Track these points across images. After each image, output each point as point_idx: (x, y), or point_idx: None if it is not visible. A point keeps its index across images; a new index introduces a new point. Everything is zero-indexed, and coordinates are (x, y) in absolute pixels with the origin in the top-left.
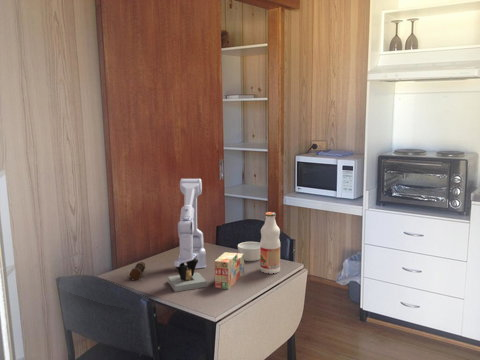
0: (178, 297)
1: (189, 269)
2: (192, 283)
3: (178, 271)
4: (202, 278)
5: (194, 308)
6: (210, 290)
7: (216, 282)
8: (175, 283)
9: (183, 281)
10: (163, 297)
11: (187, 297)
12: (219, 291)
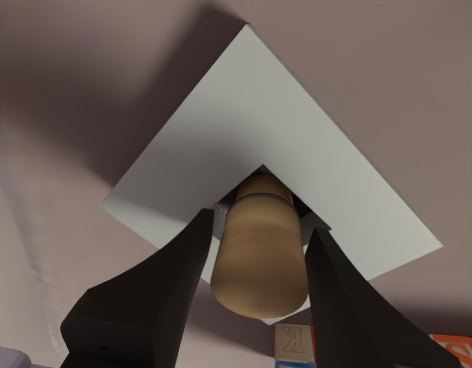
0: (80, 231)
1: (281, 304)
2: (203, 278)
3: (156, 254)
4: (306, 300)
5: (57, 311)
6: (233, 316)
7: (276, 355)
8: (140, 188)
9: (238, 198)
10: (18, 163)
11: (109, 264)
12: (239, 341)
